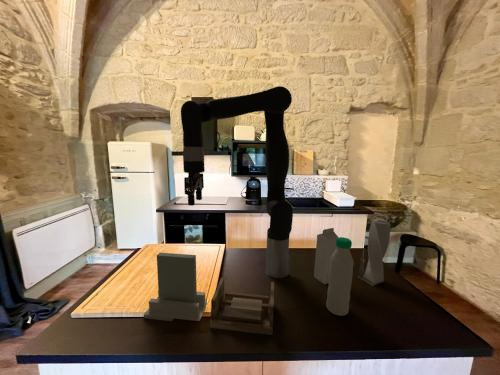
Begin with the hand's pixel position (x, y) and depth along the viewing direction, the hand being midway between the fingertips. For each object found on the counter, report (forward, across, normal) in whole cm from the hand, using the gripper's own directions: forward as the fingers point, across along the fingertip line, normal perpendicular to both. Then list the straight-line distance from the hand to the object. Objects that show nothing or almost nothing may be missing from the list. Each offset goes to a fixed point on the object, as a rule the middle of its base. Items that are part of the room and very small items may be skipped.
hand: (195, 202), depth 83 cm
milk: (+33, -7, +52) cm, 62 cm away
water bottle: (+33, +10, +52) cm, 62 cm away
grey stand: (+32, +17, -1) cm, 36 cm away
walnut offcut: (+31, +21, +21) cm, 43 cm away
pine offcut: (+28, +21, +22) cm, 41 cm away
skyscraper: (+34, -9, +72) cm, 80 cm away
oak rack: (+33, +18, +21) cm, 42 cm away
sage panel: (+31, +17, -1) cm, 35 cm away
